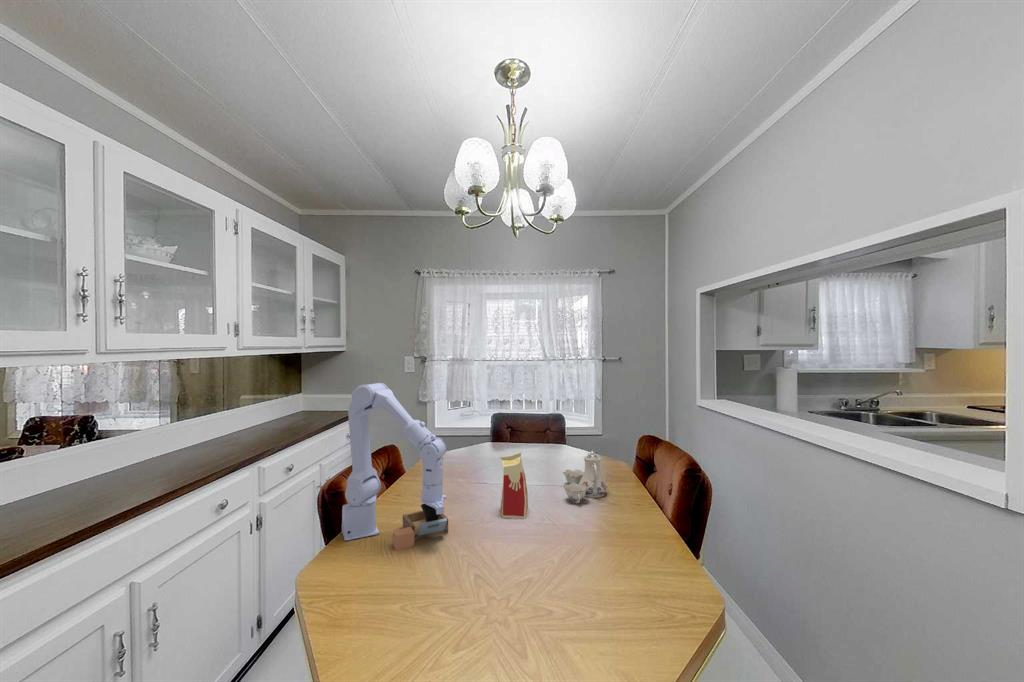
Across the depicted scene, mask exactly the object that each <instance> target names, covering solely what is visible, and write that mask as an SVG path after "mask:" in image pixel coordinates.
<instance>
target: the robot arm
mask: <svg viewBox="0 0 1024 682" xmlns="http://www.w3.org/2000/svg"><path fill="white" fill-rule="evenodd" d="M374 409H381V410H385V411H386V412H387V413H388V414H389V415H390V416H391V417H392V418H393V419H394V420H395V421H396V422H397V423H398V424H399V425H401V426H402V428H403V434H404V436H405V437H406V439H408V440H409V441H410V442H411V443H412V445H413V446H414V447H415V448H416V449H417V450H418V456H419V458H420V460H421V462H422V483H421V484H422V485H421V486H422V490H421V500H420V501H421V503H422V504H421V505H420V507H421V510H422V511H423V512H424V515H425V519H426V522H430V521H435V520H438V517H439V515H440V514H445V505H444V500H447V495H446V494H443V493H444V492H443V490H444V486H443V484H444V455H446V452H447V444H446V442H445V441H444V439H443V438H441V437H437V436H436V435H435V434H433V433H432V432H431V431H430V430H429V428H427V427H426V423H425V422H424V421H421V420H420V419H413V418H412V416H411V415H410V413H408V412H407V410H406V409H405V407H403V405H402V404H401V403H400V402H399V400H398V399H397V398H396V397H395V395H394V392H393V390H392V389H390V388H389V387H388V386H387V384H385V383H383V382H376V383H370V384H369V383H368V384H360V385H359V386H357V387H356V388H354V390H352V392H351V400H350V404H349V407H348V410H347V415H348V416H347V417H348V428H349V438H350V440H349V442H350V454H351V455H350V456H351V466H352V471H351V473H350V474H349V475H348V477H347V480H346V489H345V490H344V491H345V492H344V495H345V496H344V497H345V500H346V502H348V503H347V504H343V505H342V510H341V513H342V514H341V518H342V519H341V533H342V536H343V540H344V541H345V542H347V541H352V540H356V539H361V538H366V537H370V536H371V537H372V536H377V535H379V534H380V531H379V529H378V527H377V495H378V493H379V492H380V491H381V489H382V485H381V484H382V483H381V481H380V479H379V476H378V471H377V470H376V469H375V468H374V467H373V463H372V462H373V460H372V449H371V436H370V426H369V425H370V424H369V414H371V412H372V411H373V410H374Z"/></svg>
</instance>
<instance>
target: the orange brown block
mask: <svg viewBox="0 0 1024 682" xmlns="http://www.w3.org/2000/svg"><path fill="white" fill-rule="evenodd" d="M392 547H393V548H394V551H400V550H404V549H408V548H412V547H415V540H414V531H413V529H412V528H411V527H407V528H403V527H402V528H399V529H393V530H392Z"/></svg>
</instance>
